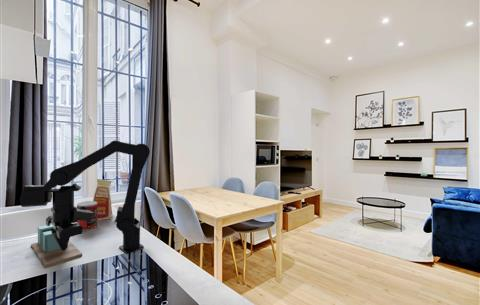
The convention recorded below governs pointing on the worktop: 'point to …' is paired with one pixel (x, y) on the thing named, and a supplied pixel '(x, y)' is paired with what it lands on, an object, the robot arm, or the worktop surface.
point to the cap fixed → (40, 232)
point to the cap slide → (49, 242)
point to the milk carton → (103, 199)
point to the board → (56, 254)
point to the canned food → (90, 225)
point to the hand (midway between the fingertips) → (63, 249)
